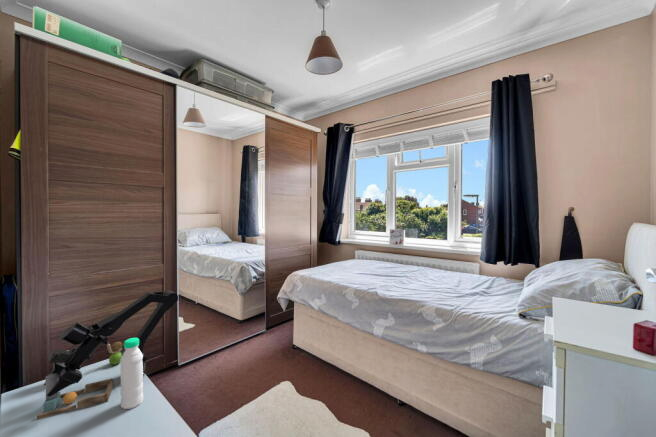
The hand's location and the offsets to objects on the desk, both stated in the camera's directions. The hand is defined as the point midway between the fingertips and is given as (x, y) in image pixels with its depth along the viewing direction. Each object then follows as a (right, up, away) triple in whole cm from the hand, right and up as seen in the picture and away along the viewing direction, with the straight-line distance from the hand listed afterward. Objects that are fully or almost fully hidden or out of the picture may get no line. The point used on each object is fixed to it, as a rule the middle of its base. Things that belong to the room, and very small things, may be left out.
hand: (46, 390), depth 102 cm
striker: (+1, -7, +1) cm, 7 cm away
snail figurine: (+3, -6, +30) cm, 30 cm away
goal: (+7, -7, +5) cm, 11 cm away
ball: (+5, -5, +4) cm, 8 cm away
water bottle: (+29, -8, +4) cm, 30 cm away
